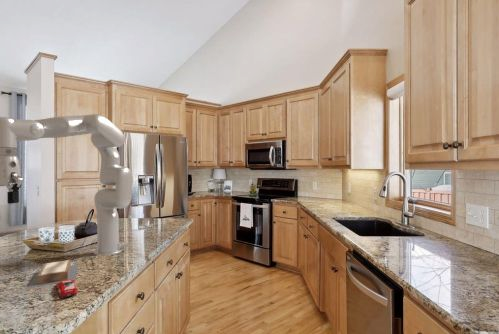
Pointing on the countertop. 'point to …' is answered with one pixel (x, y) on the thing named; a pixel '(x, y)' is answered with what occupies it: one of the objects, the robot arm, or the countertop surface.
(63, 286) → the race car
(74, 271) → the gray board
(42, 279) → the tan flat block
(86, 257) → the countertop surface
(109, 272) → the countertop surface
